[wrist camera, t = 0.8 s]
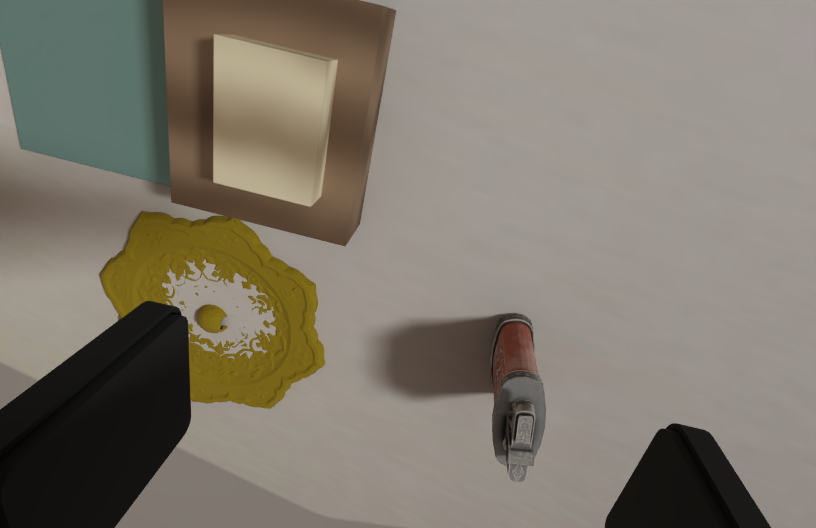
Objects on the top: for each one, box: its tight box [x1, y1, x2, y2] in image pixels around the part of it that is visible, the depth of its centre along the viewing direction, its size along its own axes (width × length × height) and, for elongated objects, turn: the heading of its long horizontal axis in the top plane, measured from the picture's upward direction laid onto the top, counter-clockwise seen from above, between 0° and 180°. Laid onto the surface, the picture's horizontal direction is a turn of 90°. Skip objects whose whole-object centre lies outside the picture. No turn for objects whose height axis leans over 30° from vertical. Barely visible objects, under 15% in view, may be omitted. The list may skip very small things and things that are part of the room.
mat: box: [0, 0, 171, 186], centre depth 30 cm, size 15×14×1 cm
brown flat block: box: [163, 0, 396, 246], centre depth 28 cm, size 14×12×4 cm
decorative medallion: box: [100, 211, 325, 408], centre depth 39 cm, size 20×20×1 cm
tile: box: [213, 34, 338, 207], centre depth 26 cm, size 8×6×2 cm
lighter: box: [490, 313, 546, 482], centre depth 32 cm, size 8×3×10 cm, turn 1°
